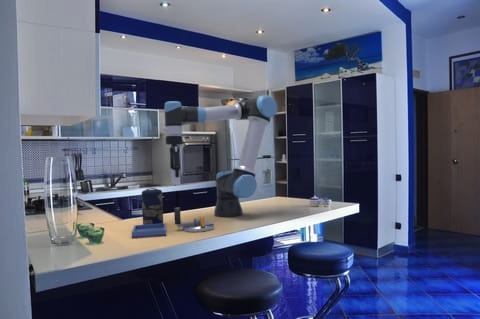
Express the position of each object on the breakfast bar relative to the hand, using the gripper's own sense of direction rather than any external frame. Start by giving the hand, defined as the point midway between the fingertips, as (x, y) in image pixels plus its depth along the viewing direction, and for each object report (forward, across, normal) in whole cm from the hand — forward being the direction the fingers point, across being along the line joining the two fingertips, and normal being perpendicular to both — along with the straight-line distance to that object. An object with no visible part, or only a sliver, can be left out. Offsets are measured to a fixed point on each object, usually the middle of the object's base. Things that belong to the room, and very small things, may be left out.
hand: (175, 183), depth 170 cm
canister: (+20, -8, -10) cm, 24 cm away
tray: (+20, +8, -13) cm, 25 cm away
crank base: (+20, +8, +8) cm, 23 cm away
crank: (+18, +7, +4) cm, 20 cm away
